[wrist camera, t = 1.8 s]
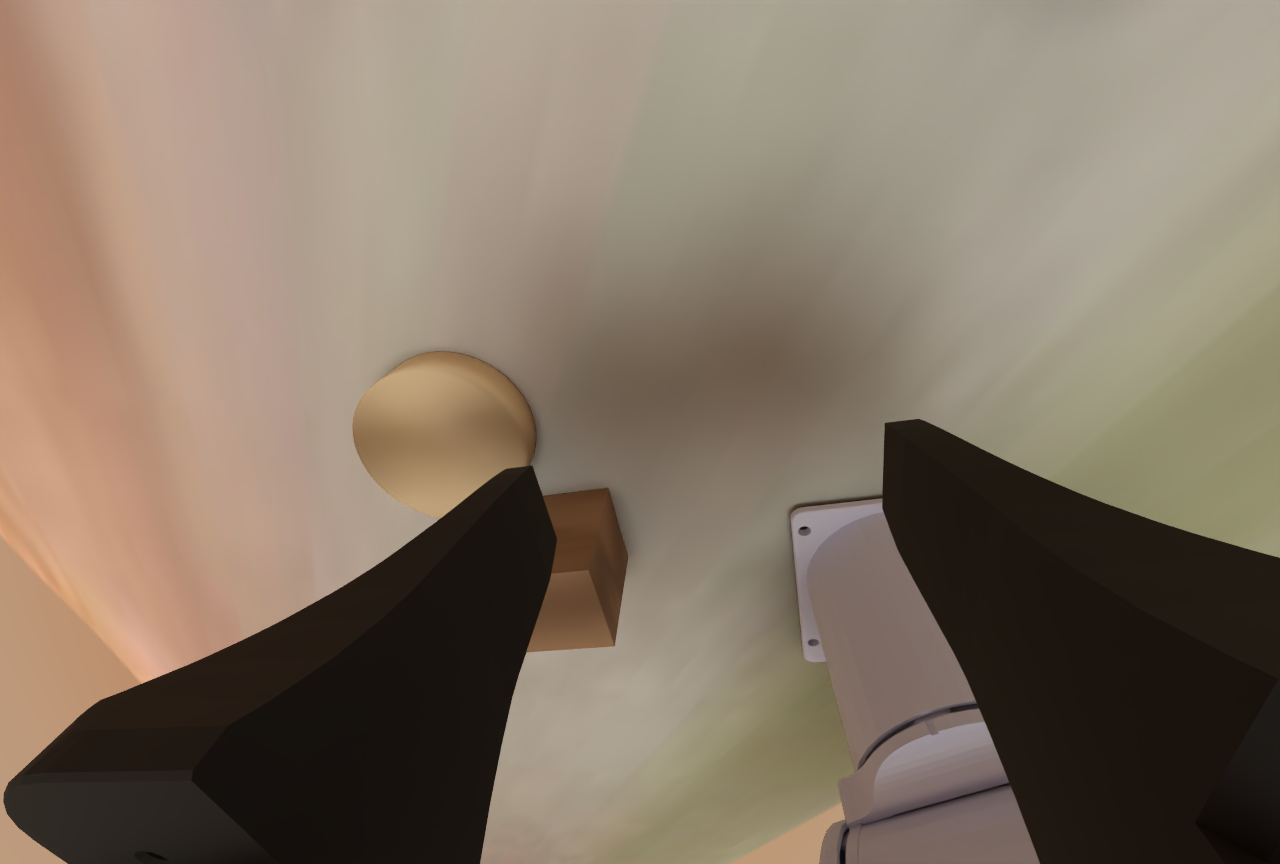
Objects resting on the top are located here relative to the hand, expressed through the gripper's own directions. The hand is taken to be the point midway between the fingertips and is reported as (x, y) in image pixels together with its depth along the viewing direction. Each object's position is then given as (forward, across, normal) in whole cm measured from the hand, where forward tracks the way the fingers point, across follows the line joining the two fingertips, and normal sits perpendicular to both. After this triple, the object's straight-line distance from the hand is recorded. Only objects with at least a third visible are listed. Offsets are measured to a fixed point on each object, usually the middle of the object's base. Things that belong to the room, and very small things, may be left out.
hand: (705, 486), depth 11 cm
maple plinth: (+9, +10, +2) cm, 14 cm away
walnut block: (+10, +7, +8) cm, 14 cm away
